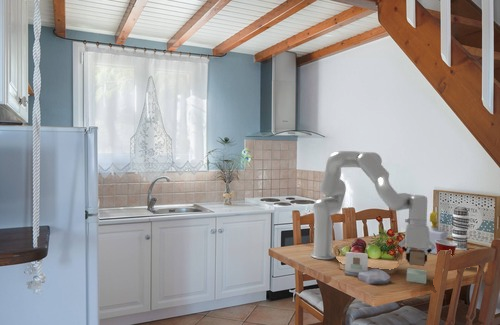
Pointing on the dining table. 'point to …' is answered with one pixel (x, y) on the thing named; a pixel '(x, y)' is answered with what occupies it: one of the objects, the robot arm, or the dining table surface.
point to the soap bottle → (435, 232)
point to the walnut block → (417, 257)
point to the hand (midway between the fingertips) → (416, 261)
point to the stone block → (374, 276)
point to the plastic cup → (445, 245)
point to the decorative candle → (460, 227)
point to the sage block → (416, 275)
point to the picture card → (355, 263)
